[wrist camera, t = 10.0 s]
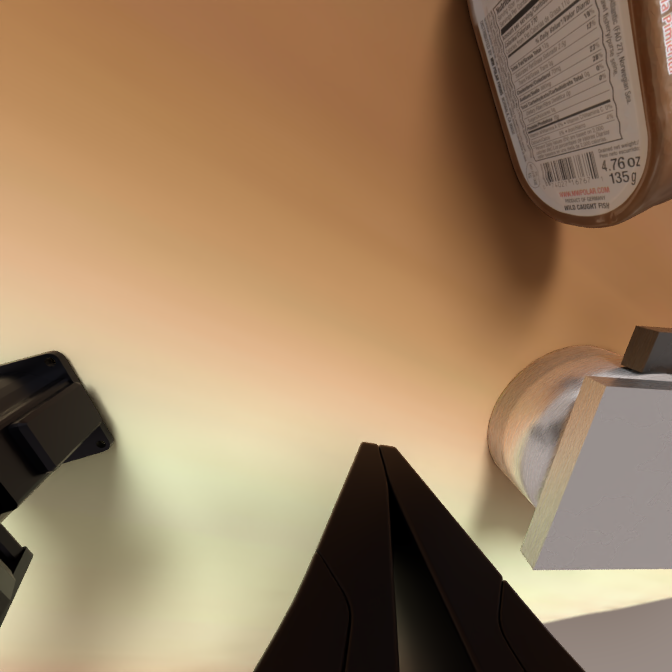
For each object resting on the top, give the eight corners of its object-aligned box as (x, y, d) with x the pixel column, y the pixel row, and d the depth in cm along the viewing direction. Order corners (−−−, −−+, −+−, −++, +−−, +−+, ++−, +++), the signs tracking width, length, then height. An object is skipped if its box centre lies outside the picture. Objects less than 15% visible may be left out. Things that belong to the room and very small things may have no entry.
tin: (567, 210, 19) (767, 194, 11) (522, 237, 19) (688, 240, 11) (488, -107, 14) (754, -556, 6) (427, -68, 14) (609, -459, 6)
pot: (464, 508, 25) (504, 570, 21) (522, 306, 20) (592, 328, 16) (588, 502, 28) (651, 558, 23) (668, 318, 23) (769, 340, 18)
